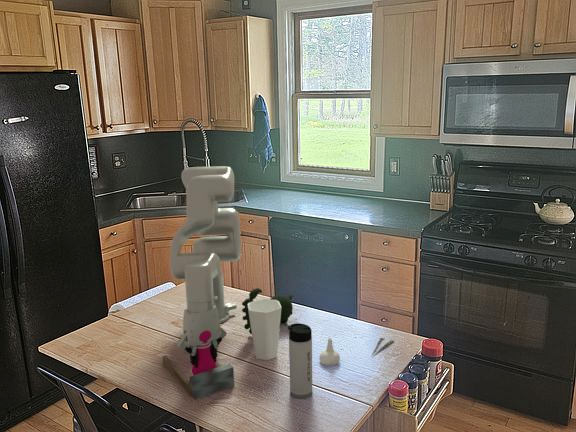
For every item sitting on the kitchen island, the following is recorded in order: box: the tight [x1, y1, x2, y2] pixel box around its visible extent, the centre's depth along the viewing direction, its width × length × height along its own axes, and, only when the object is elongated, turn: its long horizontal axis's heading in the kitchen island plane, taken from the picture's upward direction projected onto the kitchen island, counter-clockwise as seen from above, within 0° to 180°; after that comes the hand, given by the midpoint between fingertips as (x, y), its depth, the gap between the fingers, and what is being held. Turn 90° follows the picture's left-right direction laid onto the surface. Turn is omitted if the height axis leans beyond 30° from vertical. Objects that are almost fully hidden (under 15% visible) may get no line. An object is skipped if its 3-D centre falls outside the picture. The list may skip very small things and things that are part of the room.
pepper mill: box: [191, 331, 217, 376], centre depth 146 cm, size 7×7×20 cm
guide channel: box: [162, 355, 235, 401], centre depth 153 cm, size 12×24×6 cm, turn 33°
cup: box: [247, 298, 282, 361], centre depth 162 cm, size 11×10×17 cm
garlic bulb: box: [319, 337, 341, 367], centre depth 158 cm, size 6×6×8 cm
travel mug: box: [286, 322, 313, 399], centre depth 140 cm, size 6×7×20 cm
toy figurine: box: [241, 287, 293, 335], centre depth 180 cm, size 9×19×25 cm
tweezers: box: [370, 337, 394, 359], centre depth 165 cm, size 17×5×2 cm, turn 148°
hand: (204, 362), depth 147 cm, fingers closed on pepper mill, 5 cm apart
